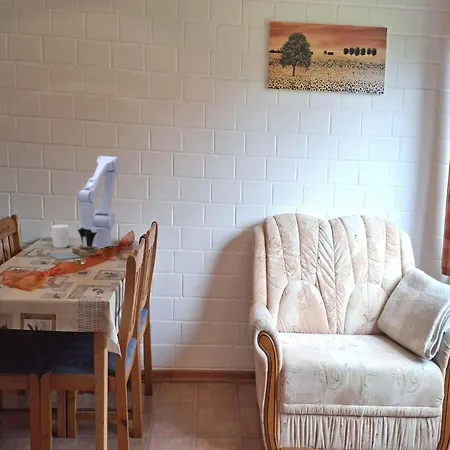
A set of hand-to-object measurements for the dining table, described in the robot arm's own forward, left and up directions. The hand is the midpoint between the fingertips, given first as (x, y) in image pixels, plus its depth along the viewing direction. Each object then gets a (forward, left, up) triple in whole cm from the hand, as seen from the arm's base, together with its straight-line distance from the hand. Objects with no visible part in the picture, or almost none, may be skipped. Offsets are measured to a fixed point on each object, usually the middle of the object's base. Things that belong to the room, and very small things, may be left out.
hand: (87, 245), depth 246 cm
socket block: (0, 0, -4) cm, 4 cm away
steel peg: (0, 0, -4) cm, 4 cm away
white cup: (-20, -4, -4) cm, 21 cm away
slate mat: (0, -11, -4) cm, 12 cm away
